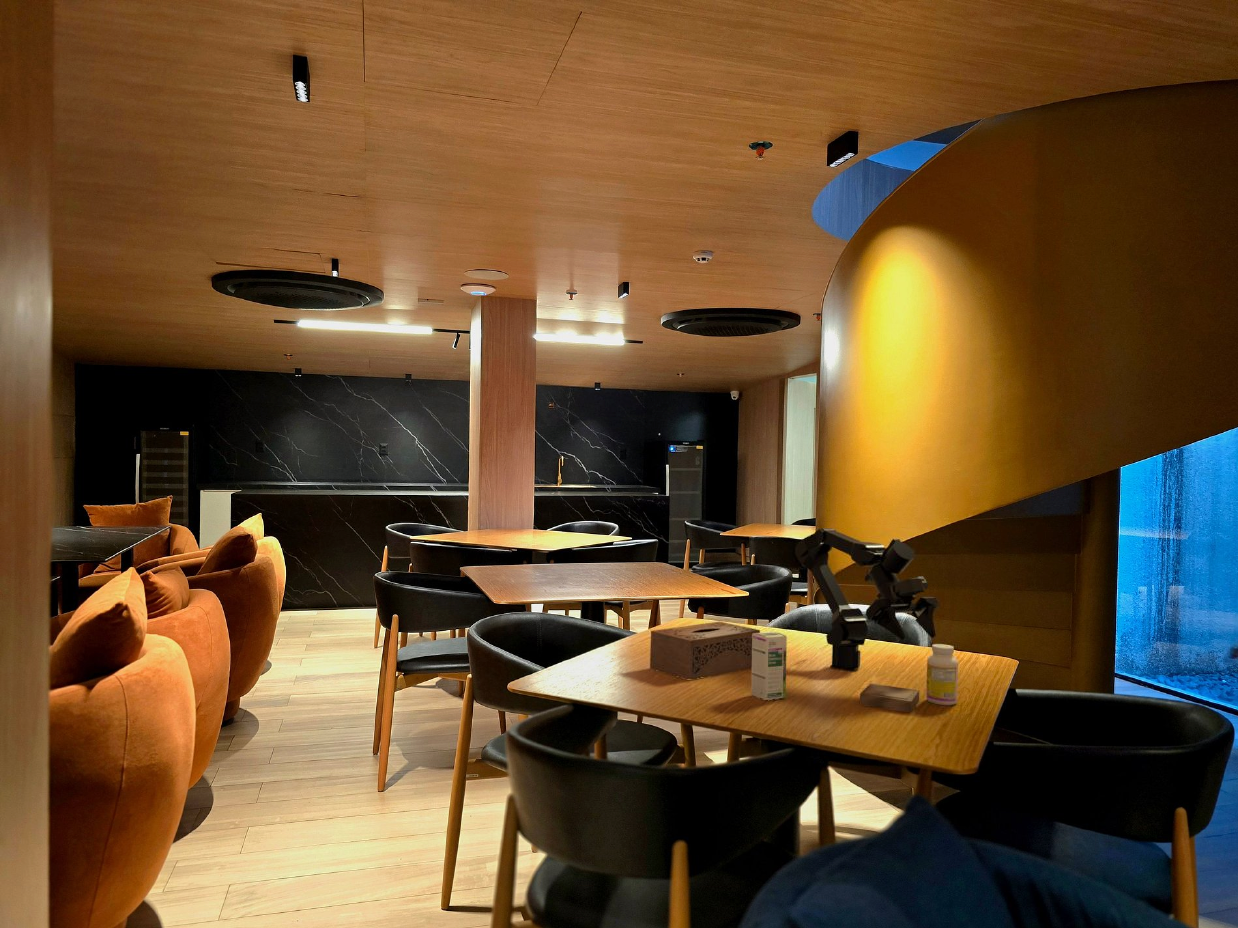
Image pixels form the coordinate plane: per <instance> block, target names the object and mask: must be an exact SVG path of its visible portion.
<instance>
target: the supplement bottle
mask: <svg viewBox="0 0 1238 928" xmlns="http://www.w3.org/2000/svg"><path fill="white" fill-rule="evenodd" d="M931 651H932V654H931V655H929V656H928V658H927V659H926V662H927V663H926V693H925V694H926V697H925V698H926V701H928V702H929V703H931V704H934V705H939V706H954V705H956V704H957V703H958V686H959V685H958V684H959V683H958V682H959V681H958V679H959V677H958V676H959V661H958V659H956V657H955V656H954V652H955V648H954V645H948V644H942V643H934V644H932V645H931Z"/></svg>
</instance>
